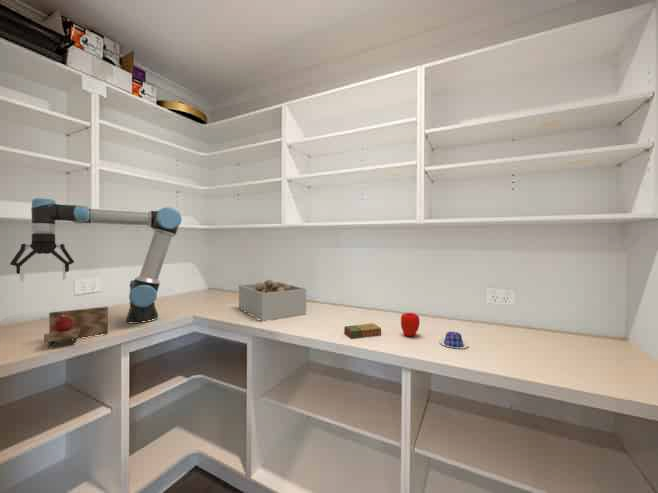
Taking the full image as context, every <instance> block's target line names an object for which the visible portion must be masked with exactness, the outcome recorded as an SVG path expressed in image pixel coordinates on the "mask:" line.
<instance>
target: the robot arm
mask: <svg viewBox="0 0 658 493" xmlns="http://www.w3.org/2000/svg"><path fill="white" fill-rule="evenodd" d="M30 209H31V211H30V212H31V232H32V233H31V244H27V243H21V244H20V249H19V250H18V251H17V253H16V254H15V256H14V257H13V258H12V260H11V262H9V265H11V266H13V267H16V270H15V271H16V272H15V273H16V275H19V282H24V281H25V266H24V264H25V263H26V262H27V261H28V260H30V259H31V258H32V257H34V256H35V255H36V254H38V255H42V254H43V255H44V254H46V255H49V254H52V255H53V256H54V257H56V259H58V260H59V261H60V262H61V263H63V265H62V280H67V272H69V271H70V265H71V264H74V263H75V261H74V259H73V257H72V256H71V254H70V253H69V252H68V250H67V249H66V245H65V243H60V244H59V243H58V244H57V243H56V234H55V233H56V221H63V222H72V223H74V224H97V225H98V224H100V225H101V224H103V225H107V224H108V225H120V226H121V225H122V226H123V225H124V226H126V225H127V226H143V227H144V226H146V227H147V226H148V227H149V228H151V230H152V231H153V236H152V238H151V241H150V244H149V247H148V250H147V252H146V254H145V255H146V256H145V259H144V262H143V265H142V267H141V270H140V274H139V275H138V276H137V277H134V279H133V280H130V281H129V295H128V299H129V309H128V312H127V314H126V317H125V318H126V319H125V322H126V323H127V322H142V321H148V320H152V319H155V318H157V317H158V318H159V314H158V311H157V308H156V306H155V301H156V300H157V297H158V290H159V287H160V285H161V282H160V280H159V277H160V273H161V271H162V269H163V265H164V261H165V259H166V255H167V253H168V249H169V247H170V244H171V240H172V238H173V237H175V236H176V235H177V233H178V230H179V229H178V228H179V226H180V225H181V223H182V215H181V213H180V212H179V211H178V210H177V209H176V208H173V207H169V206H168V207H162V208H160V209H159V210H150V211H149V210H148V212H147V211H131V210H113V209H102V208H101V209H99V208H89V206H86V205H81V204H79V205H77V204H76V205H73V204H60V203H56V200H54V199H50V198H41V197H39V198H37V197H35V198H33V199H32V200H31V208H30ZM29 248H31V250H32V251H30V252H29V253H28V254H27V255H25V256H24V257H23V259H21V257H22V256H23V255H24V252H26V250H27V249H29ZM56 248H58V249H60V250H61V251H62V253H63V255H64V256H65V257H66V259H67V260H68V261H67V260H66V259H65V257H63V256H61V255H60V254H59V253H58V252H57V251H56V250H55V249H56ZM20 259H21V260H20Z"/></svg>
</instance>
